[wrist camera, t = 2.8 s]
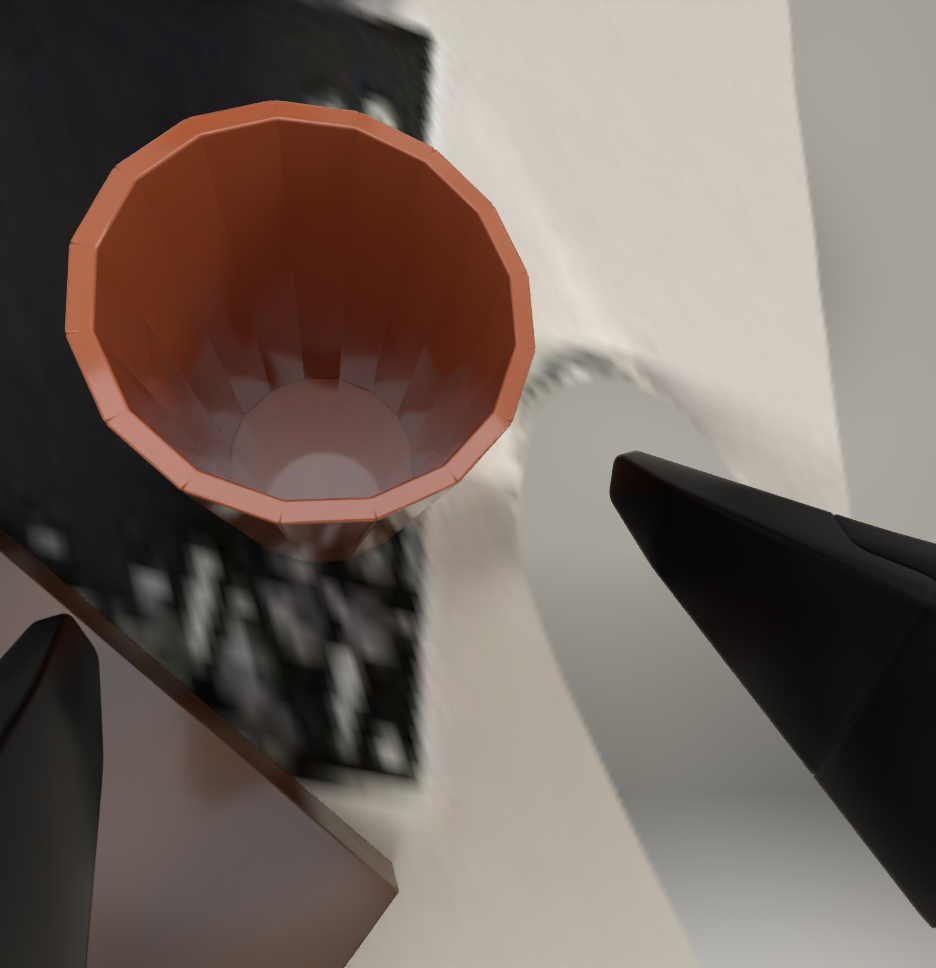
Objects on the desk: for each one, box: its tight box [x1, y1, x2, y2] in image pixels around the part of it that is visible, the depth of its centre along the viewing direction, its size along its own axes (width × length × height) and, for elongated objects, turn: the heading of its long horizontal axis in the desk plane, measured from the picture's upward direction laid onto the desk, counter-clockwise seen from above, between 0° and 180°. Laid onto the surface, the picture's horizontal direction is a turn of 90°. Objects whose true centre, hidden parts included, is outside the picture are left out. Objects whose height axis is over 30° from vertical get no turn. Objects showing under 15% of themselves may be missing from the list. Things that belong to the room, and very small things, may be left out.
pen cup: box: [65, 100, 535, 562], centre depth 14 cm, size 7×7×12 cm
